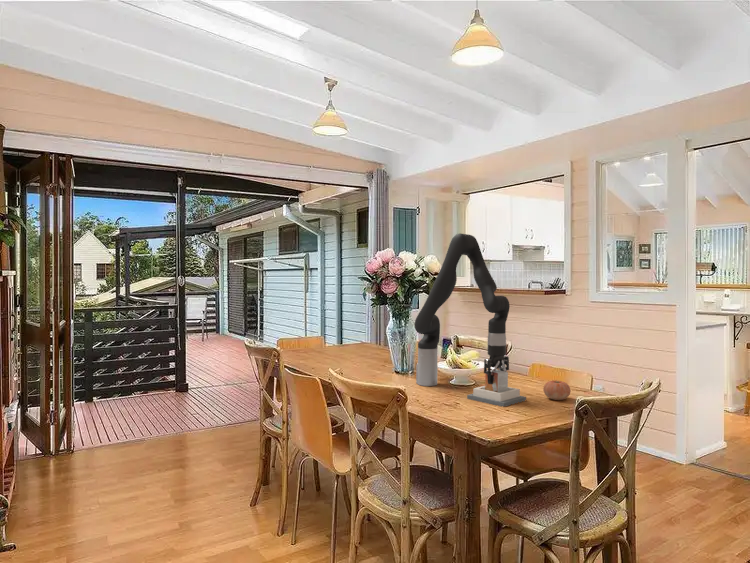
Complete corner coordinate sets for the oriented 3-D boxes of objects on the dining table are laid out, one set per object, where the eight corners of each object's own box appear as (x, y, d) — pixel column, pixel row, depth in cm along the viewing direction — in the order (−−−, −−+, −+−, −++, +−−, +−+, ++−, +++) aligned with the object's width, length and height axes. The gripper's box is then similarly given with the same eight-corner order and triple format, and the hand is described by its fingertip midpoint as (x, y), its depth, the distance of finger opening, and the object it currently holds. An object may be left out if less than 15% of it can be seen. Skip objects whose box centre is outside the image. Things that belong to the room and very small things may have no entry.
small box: (484, 394, 220) (484, 369, 220) (495, 393, 222) (495, 368, 222) (497, 398, 213) (497, 372, 213) (508, 397, 215) (508, 371, 215)
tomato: (548, 402, 213) (548, 382, 213) (539, 396, 224) (540, 377, 224) (574, 402, 213) (574, 383, 213) (565, 396, 224) (565, 377, 224)
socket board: (467, 398, 219) (467, 387, 219) (490, 392, 230) (490, 382, 229) (503, 406, 205) (503, 395, 205) (526, 400, 216) (526, 389, 216)
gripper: (499, 341, 225) (499, 378, 225) (478, 344, 215) (478, 383, 216) (514, 343, 219) (514, 381, 219) (494, 346, 210) (493, 386, 210)
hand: (496, 382), depth 217 cm, fingers open, 8 cm apart
